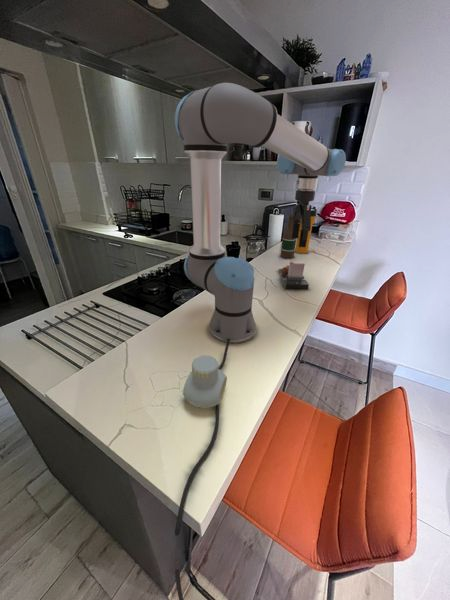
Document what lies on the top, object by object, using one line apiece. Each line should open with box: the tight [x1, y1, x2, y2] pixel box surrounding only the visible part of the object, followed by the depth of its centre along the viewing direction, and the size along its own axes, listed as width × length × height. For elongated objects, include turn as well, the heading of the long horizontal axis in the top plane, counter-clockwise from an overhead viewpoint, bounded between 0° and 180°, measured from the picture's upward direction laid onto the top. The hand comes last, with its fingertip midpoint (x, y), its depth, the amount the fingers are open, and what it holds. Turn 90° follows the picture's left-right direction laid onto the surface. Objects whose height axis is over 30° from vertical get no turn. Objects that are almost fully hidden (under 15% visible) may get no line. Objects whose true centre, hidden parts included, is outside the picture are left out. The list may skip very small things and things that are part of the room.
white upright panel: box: [287, 260, 305, 280], centre depth 114 cm, size 6×2×8 cm, turn 90°
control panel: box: [280, 274, 310, 291], centre depth 117 cm, size 11×10×3 cm
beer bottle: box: [280, 213, 297, 260], centre depth 145 cm, size 8×8×24 cm
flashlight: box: [294, 207, 318, 254], centre depth 154 cm, size 10×26×10 cm
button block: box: [278, 266, 288, 276], centre depth 126 cm, size 10×8×3 cm
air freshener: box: [182, 354, 228, 409], centre depth 59 cm, size 11×8×10 cm
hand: (298, 242), depth 112 cm, fingers open, 13 cm apart
